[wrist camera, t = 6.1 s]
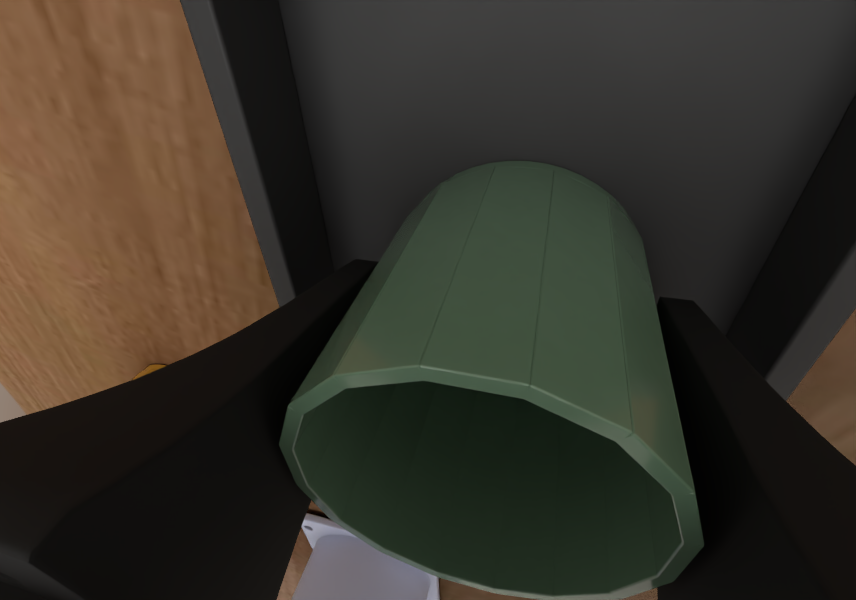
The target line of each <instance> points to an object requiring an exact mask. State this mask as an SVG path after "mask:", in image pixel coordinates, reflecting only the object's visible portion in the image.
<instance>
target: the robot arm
mask: <svg viewBox="0 0 856 600" xmlns="http://www.w3.org/2000/svg"><path fill="white" fill-rule="evenodd" d="M377 264H378V262H377V261H369V260H361V259H355V260H353V261H351V262H350V263H348V264H346V265H345V266H343V267H341V268H340V269H338V270H337V271H335V272H334V273H332V274H331V275H329V276H328V277H326V278H325V279H323V280H322V281H320V282H319V283H317V284H316V285H314V286H313V287H311V288H310V289H308V290H307V291H305V292H303V293H302V294H300V295H299V296H297V297H296V298H294V299H293V300H291V301H290V302H288V303H287V304H285V305H283V306H282V307H280V308H278V309H277V310H275V311H273V312H271V313H270V314H268V315H266V316H265V317H263V318H261V319H260V320H258V321H256V322H255V323H253V324H251V325H250V326H248V327H246V328H244V329H243V330H241V331H239V332H237V333H235V334H233V335H231V336H230V337H228V338H226V339H224V340H222V341H220V342H218V343H216V344H214V345H212V346H210V347H208V348H206V349H204V350H201V351H199V352H197V353H195V354H193V355H191V356H189V357H187V358H184V359H182V360H179V361H177V362H175V363H172V364H170V365H167V366H165V367H163V368H160V369H158V370H156V371H153V372H151V373H148V374H146V375H144V376H141V377H139V378H136V379H134V380H131V381H129V382H126V383H123V384H120V385H118V386H115V387H112V388H109V389H107V390H104V391H101V392H98V393H95V394H92V395H89V396H86V397H83V398H80V399H77V400H75V401H72V402H68V403H65V404H62V405H59V406H56V407H53V408H49V409H46V410H43V411H39V412H36V413H32V414H29V415H25V416H22V417H18V418H15V419H12V420H8V421H4V422H1V423H0V600H276V599H277V596H278V593H279V590H280V587H281V584H282V581H283V578H284V575H285V572H286V569H287V566H288V563H289V560H290V558H291V555H292V552H293V549H294V546H295V543H296V540H297V537H298V535H299V532H300V529H301V526H302V528H303V530H304V532H305V535H306V537H307V539H308V541H309V543H310V545H311V547H312V549H313V551H312V553H311V556H310V558H309V560H308V562H307V565H306V567H305V569H304V572H303V574H302V576H301V578H300V581H299V583H298V585H297V587H296V590H295V592H294V594H293V597H292V599H291V600H440V595H439V578H438V577H436V576H434V575H431V574H429V573H426V572H424V571H422V570H420V569H417V568H415V567H413V566H411V565H408V564H406V563H404V562H402V561H399V560H397V559H395V558H393V557H390V556H388V555H386V554H384V553H381V552H380V551H378V550H376V549H374V548H373V547H371V546H370V545H368V544H367V543H365V542H364V541H362V540H361V539H359V538H358V537H356V536H355V535H353V534H351V533H350V532H348V531H347V530H345V529H344V528H342V527H341V526H339V525H338V524H336V523H335V522H333V521H332V520H331V519H327V518H324V517H320V516H316V515H313V514H309V513H307V510H308V507H309V505H310V502H311V499H310V498H309V497H308V496H307V495H306V494H305V493H304V492H303V491H302V490H301V489H300V488H299V487H298V486H297V484H296V483H295V481H294V479H293V476H292V474H291V472H290V470H289V467H288V465H287V463H286V461H285V458H284V456H283V454H282V452H281V449H280V447H279V441H280V436H281V432H282V428H283V424H284V420H285V415H286V411H287V407H288V405H289V403H290V402H291V400H292V398H293V397H294V395H295V394H296V392H297V390H298V389H299V387H300V386H301V384H302V383H303V381H304V379H305V378H306V376H307V375H308V373H309V371H310V370H311V368H312V367H313V365H314V364H315V362H316V360H317V359H318V357H319V356H320V354H321V352H322V351H323V349H324V348H325V346H326V345H327V343H328V341H329V340H330V338H331V337H332V335H333V333H334V332H335V330H336V329H337V327H338V325H339V324H340V322H341V321H342V319H343V318H344V316H345V314H346V313H347V311H348V310H349V308H350V306H351V305H352V303H353V302H354V300H355V299H356V297H357V295H358V294H359V292H360V291H361V289H362V287H363V286H364V284H365V283H366V281H367V280H368V278H369V276H370V275H371V273H372V272H373V270H374V268H375V267H376V265H377ZM656 307H657V312H658V316H659V321H660V326H661V331H662V335H663V340H664V345H665V350H666V354H667V359H668V364H669V369H670V373H671V378H672V383H673V388H674V392H675V397H676V402H677V407H678V411H679V416H680V421H681V426H682V430H683V435H684V440H685V444H686V449H687V454H688V459H689V463H690V468H691V473H692V478H693V482H694V487H695V492H696V497H697V503H698V508H699V514H700V519H701V525H702V530H703V536H704V541H705V544H704V547H703V549H702V550H701V551H700V552H699V553H698V554H697V556H696V557H695V558H694V559H693V560H692V561H691V563H690V564H689V565H688V566H687V567H686V569H685V570H684V571H683V572H682V573H681V574H680V576H679V577H678V578H677V579H676V580H675V581H673V582H672V583H669V584H666V585H663V586H660V587H657V590H658V600H856V466H855V465H854V464H853V463H852V462H851V461H849V460H848V459H847V458H846V457H845V456H844V455H842V454H841V453H840V452H839V451H838V450H837V449H836V448H835V447H833V446H832V445H831V444H830V443H829V442H828V441H827V440H826V439H825V438H824V437H822V436H821V435H820V434H819V433H818V432H817V431H816V430H815V429H814V428H813V427H812V426H811V425H810V424H809V423H808V422H807V421H806V420H805V419H804V418H803V417H802V416H801V415H800V414H798V413H797V412H796V411H795V410H794V409H793V408H792V407H791V406H790V405H789V404H788V403H787V402H786V401H785V400H784V399H783V398H782V397H781V396H780V395H779V394H778V393H777V392H776V391H775V390H774V389H773V388H772V387H771V386H770V385H769V383H768V382H767V381H766V380H765V379H764V378H763V377H762V376H761V375H760V374H759V373H758V372H757V371H756V370H755V369H754V368H753V366H752V365H751V364H750V363H749V362H748V361H747V360H746V359H745V358H744V357H743V355H742V354H741V353H740V352H739V351H738V350H737V349H736V348H735V347H734V345H733V344H732V343H731V342H730V341H729V340H728V339H727V338H726V336H725V335H724V334H723V333H722V332H721V331H720V330H719V328H718V327H717V326H716V325H715V324H714V323H713V322H712V320H711V319H710V318H709V317H708V316H707V315H706V314H705V312H704V311H703V310H702V309H701V308H700V307H699V306H698V305H697V304H696V303H695V302H694V301H693V300H685V299H677V298H669V297H661V296H660V298H659V300H658V303H657V305H656Z"/></svg>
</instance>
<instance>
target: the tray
mask: <svg viewBox="0 0 856 600" xmlns="http://www.w3.org/2000/svg"><path fill="white" fill-rule="evenodd" d="M180 2H181V5H182V8H183V11H184V14H185V17H186V20H187V23H188V26H189V30H190V33H191V36H192V39H193V42H194V45H195V48H196V51H197V54H198V57H199V60H200V63H201V67H202V70H203V73H204V76H205V79H206V82H207V85H208V88H209V91H210V94H211V97H212V100H213V103H214V107H215V110H216V113H217V116H218V119H219V122H220V125H221V128H222V131H223V134H224V137H225V140H226V143H227V147H228V150H229V153H230V156H231V159H232V162H233V165H234V168H235V171H236V174H237V177H238V180H239V183H240V187H241V190H242V193H243V196H244V199H245V202H246V205H247V208H248V211H249V214H250V217H251V220H252V224H253V227H254V230H255V233H256V236H257V239H258V242H259V245H260V248H261V251H262V254H263V257H264V260H265V264H266V267H267V270H268V273H269V276H270V279H271V282H272V285H273V288H274V291H275V294H276V297H277V300H278V304H279V307H282V306H283V305H285V304H287V303H288V302H290V301H291V300H293V299H294V298H296V297H297V296H299V295H300V294H302V293H303V292H305V291H307V290H308V289H310V288H311V287H313V286H314V285H316V284H317V283H319V282H320V281H322V280H323V279H325V278H326V277H328V276H329V275H331V274H332V273H334V272H335V271H337V270H338V269H340V268H341V267H343V266H345V265H346V264H348V263H350V262H351V261H353V260H355V259H361V260H369V261H377V262H379V261H380V259H381V257H382V256H383V254H384V253H385V251H386V249H387V248H388V246H389V245H390V243H391V242H392V240H393V238H394V237H395V235H396V234H397V232H398V230H399V229H400V227H401V226H402V224H403V223H404V221H405V219H406V218H407V216H408V215H409V213H410V212H412V211H413V210H414V209H415V208H416V207H417V205H418V204H419V202H420V201H421V200H422V199H423V198H424V197H425V196H426V195H427V194H428V193H429V192H430V191H431V190H432V189H434V188H435V187H436V186H438V185H439V184H440V183H441V182H443V181H445V180H446V179H448V178H450V177H452V176H453V175H455V174H457V173H460V172H462V171H465V170H467V169H469V168H472V167H476V166H480V165H484V164H487V163H494V162H502V161H531V162H539V163H546V164H550V165H554V166H558V167H561V168H565V169H567V170H570V171H572V172H575V173H577V174H579V175H582V176H583V177H585V178H587V179H589V180H590V181H592V182H594V183H596V184H597V185H599V186H600V187H601V188H603V189H604V190H605V191H607V192H608V193H609V194H610V195H612V196H613V197H614V198H615V199H616V201H617V202H618V203H619V204H620V205H621V206H622V207H623V208H624V209H625V211H626V212H627V213H628V215H629V216H630V218H631V219H632V221H633V222H634V224H635V226H636V229H637V231H638V233H639V234H640V235H641V237H642V241H643V245H644V250H645V255H646V259H647V264H648V269H649V274H650V278H651V283H652V288H653V293H654V297H655V302H656V305H657V303H658V300H659V298H660V296H661V297H669V298H677V299H685V300H693V301H694V302H695V303H696V304H697V305H698V306H699V307H700V308H701V309H702V310H703V311H704V312H705V314H706V315H707V316H708V317H709V318H710V319H711V320H712V322H713V323H714V324H715V325H716V326H717V327H718V328H719V330H720V331H721V332H722V333H723V334H724V335H725V336H726V338H727V339H728V340H729V341H730V342H731V343H732V344H733V345H734V347H735V348H736V349H737V350H738V351H739V352H740V353H741V354H742V355H743V357H744V358H745V359H746V360H747V361H748V362H749V363H750V364H751V365H752V366H753V368H754V369H755V370H756V371H757V372H758V373H759V374H760V375H761V376H762V377H763V378H764V379H765V380H766V381H767V382H768V383H769V385H770V386H771V387H772V388H773V389H774V390H775V391H776V392H777V393H778V394H779V395H780V396H781V397H782V398H783V399H784V400H785V401H786V400H787V399H788V397H789V396H790V395H791V393H792V392H793V391H794V390H795V388H796V387H797V386H798V384H799V383H800V382H801V380H802V379H803V378H804V376H805V375H806V374H807V372H808V371H809V370H810V368H811V367H812V366H813V364H814V363H815V362H816V360H817V359H818V358H819V356H820V355H821V354H822V352H823V351H824V350H825V348H826V347H827V346H828V344H829V343H830V342H831V340H832V339H833V338H834V336H835V335H836V334H837V332H838V331H839V330H840V328H841V327H842V326H843V324H844V323H845V322H846V320H847V319H848V318H849V316H850V315H851V314H852V312H853V311H854V310H855V309H856V0H180Z"/></svg>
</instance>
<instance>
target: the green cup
mask: <svg viewBox="0 0 856 600" xmlns="http://www.w3.org/2000/svg"><path fill="white" fill-rule="evenodd" d="M279 447H280V449H281V452H282V454H283V456H284V458H285V461H286V463H287V465H288V467H289V470H290V472H291V474H292V476H293V479H294V481H295V483H296V484H297V486H298V487H299V488H300V489H301V490H302V491H303V492H304V493H305V494H306V495H307V496H308V497H309V498H310V499H311V500H312V501H313V502H314V503H315V504H316V505H317V506H318V507H319V508H320V509H321V510H322V511H323V512H324V513H325V514H326V515H327V516H328V517H329V518H330V519H331V520H332V521H333V522H335V523H336V524H338V525H339V526H341V527H342V528H344V529H345V530H347V531H348V532H350V533H351V534H353V535H355V536H356V537H358V538H359V539H361V540H362V541H364V542H365V543H367V544H368V545H370V546H371V547H373V548H374V549H376V550H378V551H380V552H381V553H384V554H386V555H388V556H390V557H393V558H395V559H397V560H399V561H402V562H404V563H406V564H408V565H411V566H413V567H415V568H417V569H420V570H422V571H424V572H426V573H429V574H431V575H434V576H436V577H439V578H443V579H446V580H450V581H453V582H457V583H460V584H464V585H467V586H471V587H474V588H478V589H481V590H484V591H488V592H491V593H496V594H502V595H510V596H517V597H524V598H531V599H539V600H620V599H624V598H627V597H630V596H633V595H636V594H639V593H642V592H645V591H648V590H651V589H654V588H657V587H660V586H663V585H666V584H669V583H672V582H673V581H675V580H676V579H677V578H678V577H679V576H680V574H681V573H682V572H683V571H684V570H685V569H686V567H687V566H688V565H689V564H690V563H691V561H692V560H693V559H694V558H695V557H696V556H697V554H698V553H699V552H700V551H701V550H702V549H703V547H704V544H705V541H704V536H703V530H702V525H701V519H700V514H699V508H698V503H697V497H696V492H695V487H694V482H693V478H692V473H691V468H690V463H689V459H688V454H687V449H686V444H685V440H684V435H683V430H682V426H681V421H680V416H679V411H678V407H677V402H676V397H675V392H674V388H673V383H672V378H671V373H670V369H669V364H668V359H667V354H666V350H665V345H664V340H663V335H662V331H661V326H660V321H659V316H658V312H657V307H656V302H655V297H654V293H653V288H652V283H651V278H650V274H649V269H648V264H647V259H646V255H645V250H644V245H643V241H642V237H641V235H640V234H639V233H638V231H637V229H636V226H635V224H634V222H633V221H632V219H631V218H630V216H629V215H628V213H627V212H626V211H625V209H624V208H623V207H622V206H621V205H620V204H619V203H618V202H617V201H616V199H615V198H614V197H613V196H612V195H610V194H609V193H608V192H607V191H605V190H604V189H603V188H601V187H600V186H599V185H597V184H596V183H594V182H592V181H590V180H589V179H587V178H585V177H583V176H582V175H579V174H577V173H575V172H572V171H570V170H567V169H565V168H561V167H558V166H554V165H550V164H546V163H539V162H531V161H502V162H494V163H487V164H484V165H480V166H476V167H472V168H469V169H467V170H465V171H462V172H460V173H457V174H455V175H453V176H452V177H450V178H448V179H446V180H445V181H443V182H441V183H440V184H439V185H438V186H436V187H435V188H434V189H432V190H431V191H430V192H429V193H428V194H427V195H426V196H425V197H424V198H423V199H422V200H421V201H420V202H419V204H418V205H417V207H416V208H415V209H414V210H413V211H412V212H410V213H409V215H408V216H407V218H406V219H405V221H404V223H403V224H402V226H401V227H400V229H399V230H398V232H397V234H396V235H395V237H394V238H393V240H392V242H391V243H390V245H389V246H388V248H387V249H386V251H385V253H384V254H383V256H382V257H381V259H380V261H379V262H378V264H377V265H376V267H375V268H374V270H373V272H372V273H371V275H370V276H369V278H368V280H367V281H366V283H365V284H364V286H363V287H362V289H361V291H360V292H359V294H358V295H357V297H356V299H355V300H354V302H353V303H352V305H351V306H350V308H349V310H348V311H347V313H346V314H345V316H344V318H343V319H342V321H341V322H340V324H339V325H338V327H337V329H336V330H335V332H334V333H333V335H332V337H331V338H330V340H329V341H328V343H327V345H326V346H325V348H324V349H323V351H322V352H321V354H320V356H319V357H318V359H317V360H316V362H315V364H314V365H313V367H312V368H311V370H310V371H309V373H308V375H307V376H306V378H305V379H304V381H303V383H302V384H301V386H300V387H299V389H298V390H297V392H296V394H295V395H294V397H293V398H292V400H291V402H290V403H289V405H288V407H287V411H286V415H285V420H284V424H283V428H282V432H281V436H280V441H279Z"/></svg>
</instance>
